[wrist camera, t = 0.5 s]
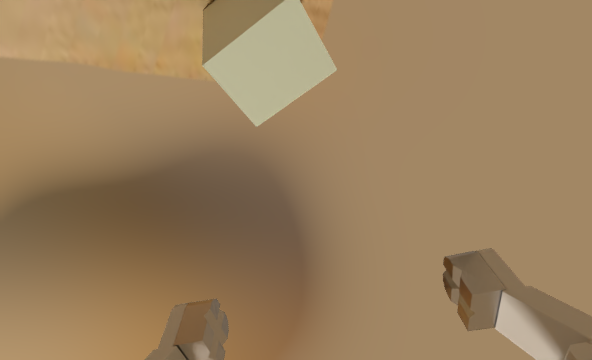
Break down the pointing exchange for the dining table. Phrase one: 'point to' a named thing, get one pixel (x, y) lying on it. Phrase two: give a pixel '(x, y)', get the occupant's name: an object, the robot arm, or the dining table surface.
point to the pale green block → (263, 53)
